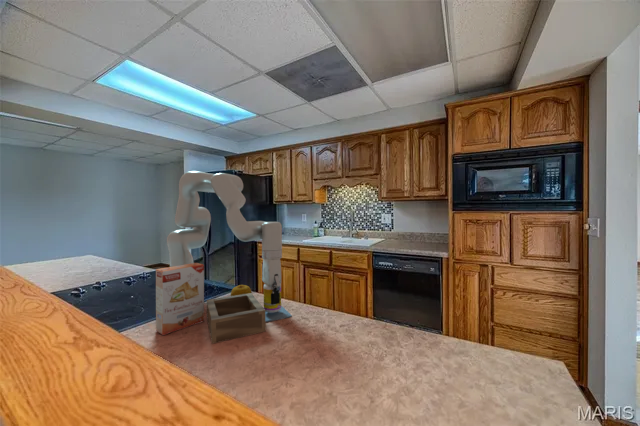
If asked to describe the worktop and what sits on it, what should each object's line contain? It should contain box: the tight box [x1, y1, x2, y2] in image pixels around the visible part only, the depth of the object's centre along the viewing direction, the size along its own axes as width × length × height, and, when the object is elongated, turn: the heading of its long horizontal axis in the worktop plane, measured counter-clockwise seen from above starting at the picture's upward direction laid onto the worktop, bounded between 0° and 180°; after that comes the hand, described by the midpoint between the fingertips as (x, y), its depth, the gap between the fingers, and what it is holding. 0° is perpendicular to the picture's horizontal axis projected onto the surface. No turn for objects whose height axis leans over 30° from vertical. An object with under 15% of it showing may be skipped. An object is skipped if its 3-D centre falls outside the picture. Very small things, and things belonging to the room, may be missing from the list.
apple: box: [230, 284, 253, 296], centre depth 108 cm, size 9×8×9 cm
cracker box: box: [155, 262, 205, 336], centre depth 90 cm, size 14×6×21 cm, turn 143°
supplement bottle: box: [263, 283, 282, 313], centre depth 99 cm, size 7×7×13 cm
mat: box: [265, 305, 293, 323], centre depth 99 cm, size 11×11×1 cm
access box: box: [206, 292, 267, 344], centre depth 90 cm, size 20×16×7 cm
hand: (272, 300), depth 99 cm, fingers closed on supplement bottle, 6 cm apart
